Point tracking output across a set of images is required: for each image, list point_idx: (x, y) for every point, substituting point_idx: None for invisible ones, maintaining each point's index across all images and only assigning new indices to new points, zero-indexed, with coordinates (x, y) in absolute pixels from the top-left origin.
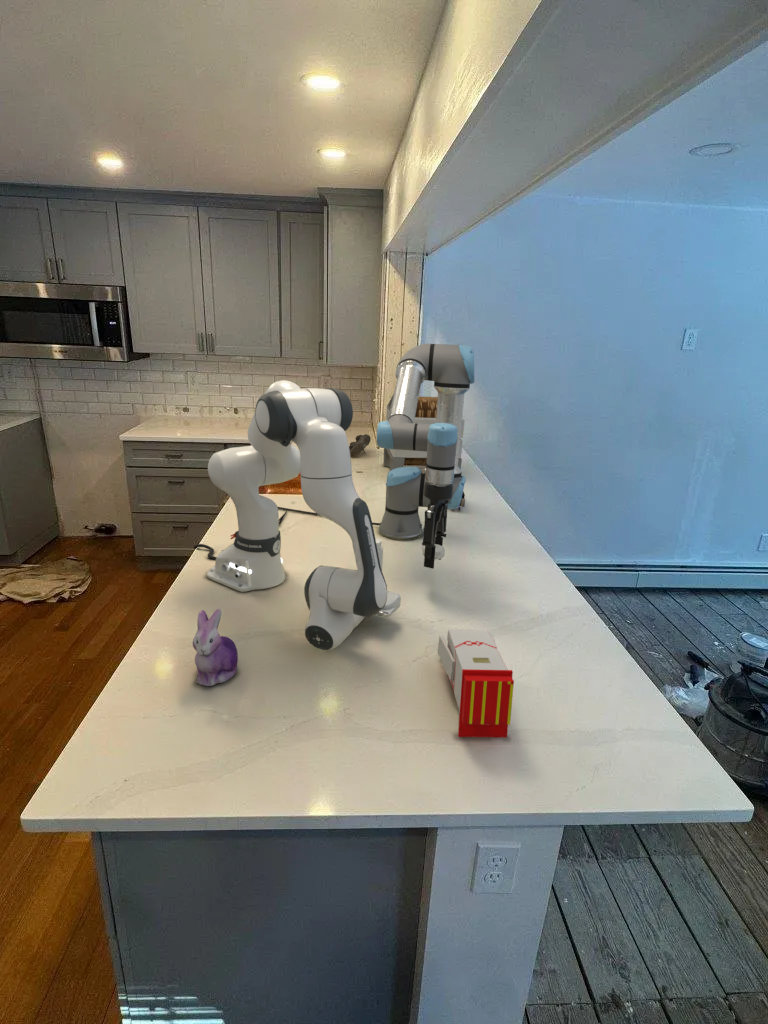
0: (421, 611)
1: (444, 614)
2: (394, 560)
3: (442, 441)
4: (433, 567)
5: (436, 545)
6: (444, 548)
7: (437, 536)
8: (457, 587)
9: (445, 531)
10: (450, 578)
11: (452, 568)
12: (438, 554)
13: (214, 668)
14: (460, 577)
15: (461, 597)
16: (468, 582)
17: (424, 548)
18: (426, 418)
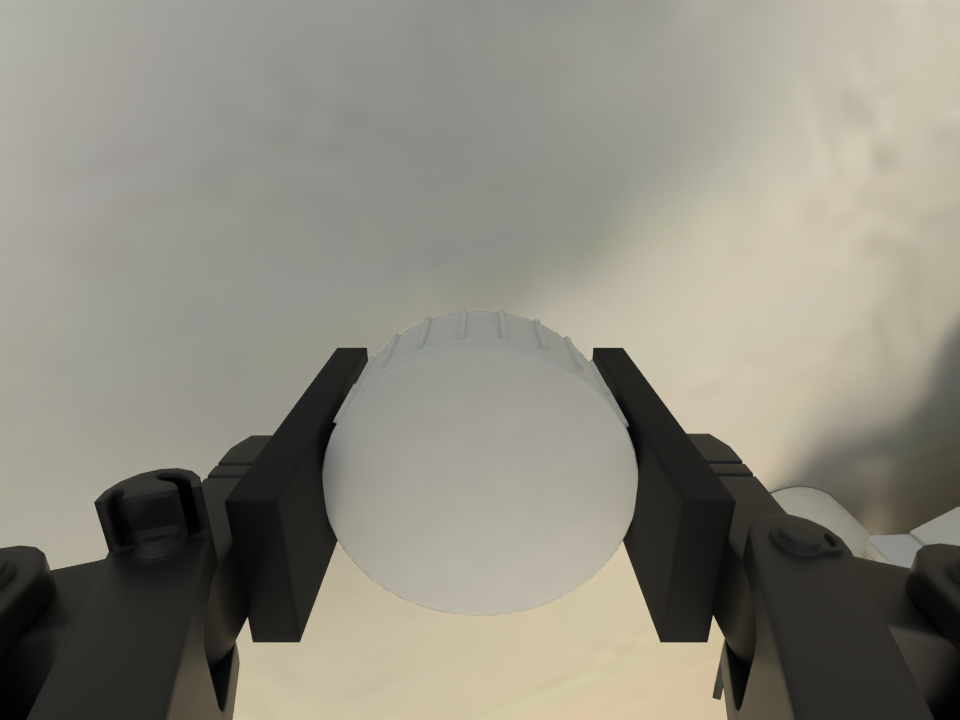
0: (768, 268)
1: (762, 109)
2: None
3: None
4: (608, 350)
5: (373, 491)
6: (419, 359)
7: (243, 593)
8: (321, 147)
9: (6, 560)
10: (214, 242)
11: (48, 280)
12: (591, 377)
13: None
14: (148, 177)
15: (461, 66)
16: (187, 88)
17: (569, 586)
18: None
